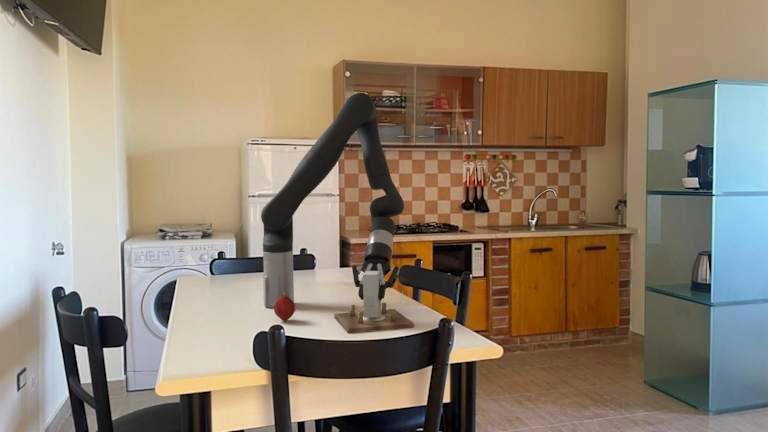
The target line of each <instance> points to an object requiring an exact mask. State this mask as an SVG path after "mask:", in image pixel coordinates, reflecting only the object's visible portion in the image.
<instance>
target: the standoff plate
mask: <svg viewBox="0 0 768 432" xmlns="http://www.w3.org/2000/svg"><path fill="white" fill-rule="evenodd" d="M349 311H350V312H340V313H339V312H338V313H334V314H333V317H334V320H335V321H337V323H338V324H339V325H340V326H341V327H342V328H343V329H344V330H345V332H347V334H354V333H355V334H356V333H367V332H377V331H387V330H388V331H389V330H399V329H412V328H413V329H414V328H415V323H414V322H413V321H412V320H410V319H409V318H407V317H406V316H405V315H403V314H402V313H400V312H399V311H398V310H397V309H395V308H391V309H387V302H381V313H380V315H379V317H378V318H365V317H364V311H356V305H355V304H350V305H349Z"/></svg>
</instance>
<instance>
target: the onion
mask: <svg viewBox="0 0 768 432" xmlns="http://www.w3.org/2000/svg"><path fill="white" fill-rule="evenodd" d="M295 309H296V307H295V302H294V303H293V301H292V300H291V299H290V298H289V297H287V295H286V294H285V293H283V294H282V297H280V298H279V299H278V300H277V301H276V303H275V305H274V308H273V312H274V315H276V317H278V318H279V319H280V320H282V321H283V322H287V321H288V320H289V319H290V318H291V317H292V316H293V315H294V314H295V311H296V310H295Z"/></svg>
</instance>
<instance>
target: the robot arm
mask: <svg viewBox="0 0 768 432" xmlns="http://www.w3.org/2000/svg"><path fill="white" fill-rule="evenodd" d="M376 106H377V105H376V104H375V102H374V100H373V99H372V97H371V96H370V95H369V94H367V93H364V92H356V93H354V94H351V95H350V97H348V98H347V100H346V101H345V103H343V105H342V107H341V109H340V110H339V112H338V114H337V115H336V117H335V118H334V120H333V121H332V123H331V124H330V125H329V126H328V127H327V129H326V130H324V132H323V133H322V134H321V135H320V137H319V138H318V139H317V141H316V142H315V143H314V144H313V145H312V146H311V147H310V148H309V150H308V151H307V152H306V154H305V155H304V156H303V158H302V159H301V160H300V162H299V163H298V164H297V166H296V167H295V169H294V170H293V172H292V173H291V175H290V177H289V178H288V180H287V181H286V183H285V184H284V185H283V187H282V188H281V189H280V190H279V191H278V192H277V193H276V194H275V195H274V196H273V197H272V198H271V200H269V201H268V202H266V204H265V205H264V206H263V207H262V209H261V214H260V219H261V222H262V224H263V239H262V241H263V242H262V255H263V256H262V259H263V275H262V281H263V283H262V284H263V285H262V286H263V305H264V308H273V309H274V305H275V303H276V301H277V300H278V299H279V298H280V297H282V294H283V293H285V294H286V295H287V297H289V298H290V299H291V300H292V301H293V303H294V304H295V288H294V287H295V285H294V283H295V282H294V251H293V250H294V245H293V244H294V221H293V218H294V217H293V216H294V214H295V213H296V211H297V210H298V208H299V207H300V205H301V204H302V203H303V202H304V200H305V199H306V198H307V197H308V196H309V195H310V194H311V193H312V192H313V191H314V190H315V189H316V188H317V187H318V186H320V184H321V183H322V182H323V181H324V180H325V179H326V178H327V177H328V175H329V174H330V173H331V171H332V170H333V169H334V168H335V166H337V163H338V162H339V160H340V158H341V156H342V154H343V152H344V150H345V148H346V145H347V144H348V142H349V140H350V139H351V137H352V136H353V135H354V134H355V133H357V136H358V138H359V141H360V146H361V151H362V152H361V153H362V158H363V164H364V169H365V172H366V177H367V181H368V184H369V188H370V189H371V190H373V191H380V190H382V191H383V192H384V193H385V195H383V196H380V197H377V198H373V200H372V201H371V203H370V205H369V213H370V223H371V228H370V232H369V237H368V240H367V243H366V244H367V245H366V249H365V254H364V255H365V256H364V261H363V263H362V264H361V265H358V266H356V265H352V266H351V270H352V276H353V282H354V285H355V287H356V288H359V289H358V292H357V293H358V297H359V299H360V301H361V300H362V301H364V299H363V277H362V278H361V279H360V277H359V276H360V274H361V272H363V274H364V273H365V272H366V271H380V282H381V285H380V287H379V293H378V299H379V300H381V302H382V300H384V298H385V295H386V290H387V289H388V288H389V289H393V287H394V286H395V284H396V282H397V280H398V278H399V276H400V274H401V273H400V268H399V266H397V265H396V266H391V262H392V254H393V251H394V236H395V230H396V224H395V221H394V220H393V219H392V218H393V217H397V216H400V215H401V214H402V213H403V211H404V210H405V204H404V200H403V198H402V196H401V195H402V194H400V192H399V190H398V189H397V187H396V186H395V183H394V182H393V179H392V176H391V173H390V169H389V166H388V162H387V159H386V155H385V152H384V149H383V146H382V143H381V138H380V134H379V127H378V119H377V115H378V114H377V107H376ZM388 273H390V276H388V277H389V278H388V279H387V281H386V279H385V277H386V276H387V275H388Z"/></svg>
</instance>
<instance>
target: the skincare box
mask: <svg viewBox="0 0 768 432" xmlns="http://www.w3.org/2000/svg"><path fill="white" fill-rule="evenodd" d="M362 278H363V299H364V300H363V312H364V317H365V318H378V317H379V315H380V313H381V310H382V309H381V303H382V301H381V300H379V299H378V293H379V287H380V285H381V282H380V271H366V272H365V273H364V272H363V274H362Z"/></svg>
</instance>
